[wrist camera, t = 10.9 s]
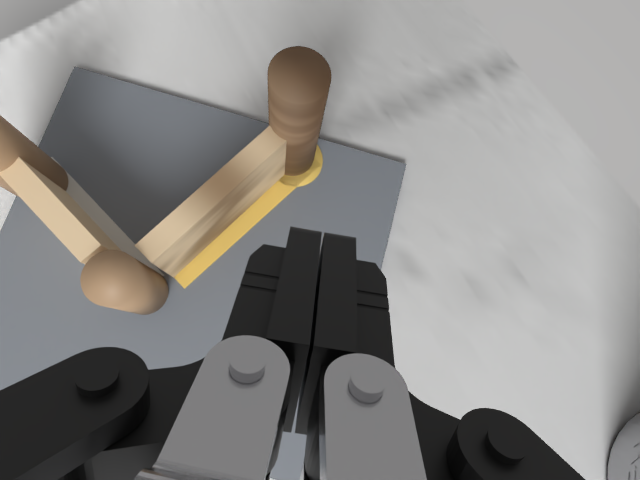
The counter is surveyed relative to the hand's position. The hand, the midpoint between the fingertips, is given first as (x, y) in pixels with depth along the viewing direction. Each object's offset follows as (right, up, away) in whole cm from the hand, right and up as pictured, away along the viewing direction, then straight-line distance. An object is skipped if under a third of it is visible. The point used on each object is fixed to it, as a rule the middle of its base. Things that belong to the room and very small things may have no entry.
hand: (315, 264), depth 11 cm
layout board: (-8, -1, +17) cm, 19 cm away
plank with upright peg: (-5, +3, +17) cm, 18 cm away
